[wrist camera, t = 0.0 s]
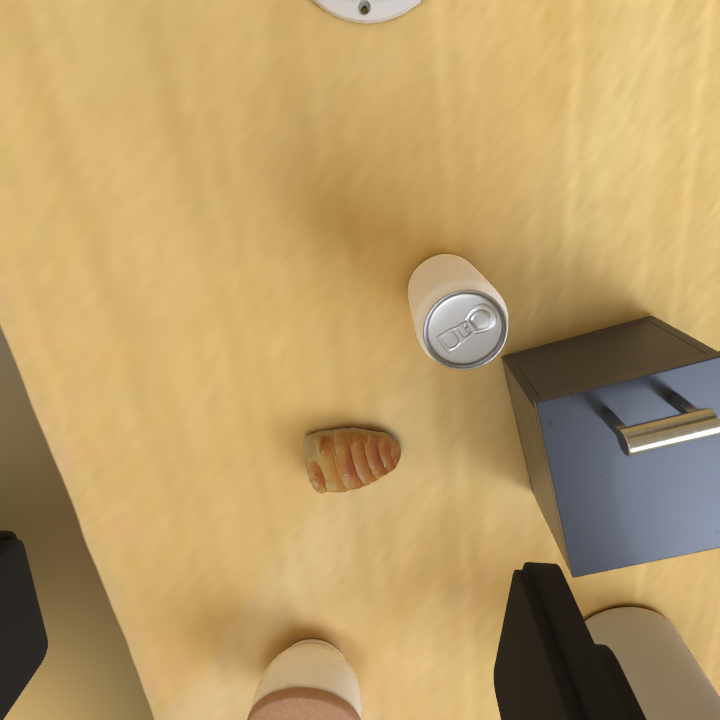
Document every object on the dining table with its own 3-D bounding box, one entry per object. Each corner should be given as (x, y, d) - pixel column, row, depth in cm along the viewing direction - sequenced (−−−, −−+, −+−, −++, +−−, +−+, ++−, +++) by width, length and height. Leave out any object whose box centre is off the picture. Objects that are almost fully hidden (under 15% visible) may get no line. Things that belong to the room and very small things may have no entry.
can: (494, 297, 45) (533, 341, 33) (433, 338, 46) (451, 393, 35) (454, 237, 43) (480, 263, 32) (392, 282, 44) (397, 321, 33)
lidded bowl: (262, 618, 60) (238, 712, 49) (368, 626, 59) (366, 722, 49) (263, 691, 64) (241, 792, 54) (362, 699, 64) (358, 801, 54)
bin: (501, 356, 47) (534, 409, 37) (652, 315, 45) (732, 359, 35) (532, 491, 52) (569, 570, 42) (668, 460, 50) (742, 534, 40)
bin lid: (532, 398, 36) (557, 436, 31) (732, 347, 34) (792, 378, 29) (569, 570, 42) (595, 626, 37) (742, 535, 40) (795, 588, 35)
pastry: (392, 412, 49) (393, 432, 46) (406, 469, 51) (408, 492, 48) (300, 431, 50) (294, 452, 47) (318, 486, 53) (314, 510, 49)
